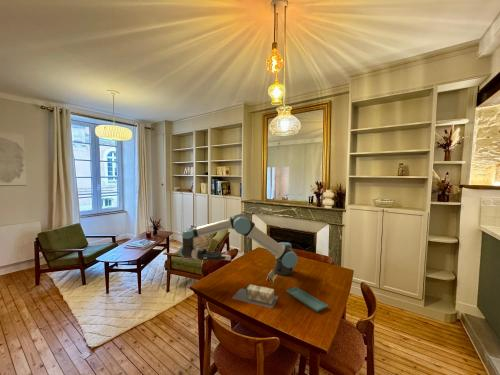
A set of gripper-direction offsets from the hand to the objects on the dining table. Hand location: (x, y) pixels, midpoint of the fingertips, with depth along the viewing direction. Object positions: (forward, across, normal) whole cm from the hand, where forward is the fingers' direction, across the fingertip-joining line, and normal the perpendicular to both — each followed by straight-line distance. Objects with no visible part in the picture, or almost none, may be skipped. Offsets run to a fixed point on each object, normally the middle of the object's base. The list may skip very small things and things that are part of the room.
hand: (230, 258), depth 146 cm
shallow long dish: (+48, -7, -23) cm, 53 cm away
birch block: (+13, +2, -18) cm, 23 cm away
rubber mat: (+18, +3, -22) cm, 29 cm away
